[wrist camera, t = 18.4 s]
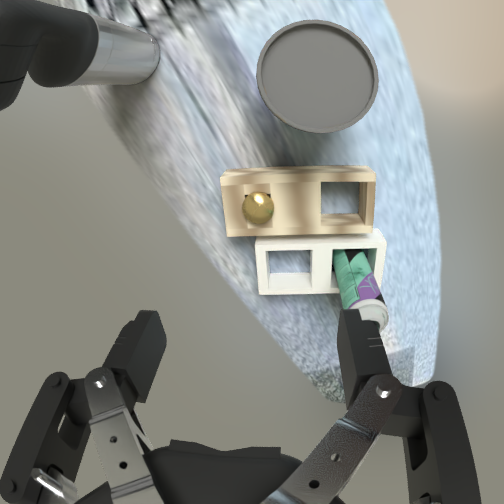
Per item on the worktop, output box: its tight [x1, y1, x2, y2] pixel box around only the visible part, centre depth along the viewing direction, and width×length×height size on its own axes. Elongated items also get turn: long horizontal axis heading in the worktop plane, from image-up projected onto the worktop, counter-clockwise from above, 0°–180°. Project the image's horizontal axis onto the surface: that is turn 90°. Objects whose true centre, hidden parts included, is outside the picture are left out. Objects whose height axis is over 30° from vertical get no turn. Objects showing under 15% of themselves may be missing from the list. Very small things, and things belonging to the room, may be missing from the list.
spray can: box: [332, 248, 389, 333], centre depth 41 cm, size 6×6×20 cm
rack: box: [255, 229, 387, 295], centre depth 49 cm, size 20×9×5 cm, turn 95°
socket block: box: [220, 165, 376, 237], centre depth 44 cm, size 22×9×5 cm, turn 95°
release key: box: [242, 191, 274, 224], centre depth 44 cm, size 4×4×6 cm
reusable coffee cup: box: [256, 20, 379, 133], centre depth 32 cm, size 13×13×15 cm
